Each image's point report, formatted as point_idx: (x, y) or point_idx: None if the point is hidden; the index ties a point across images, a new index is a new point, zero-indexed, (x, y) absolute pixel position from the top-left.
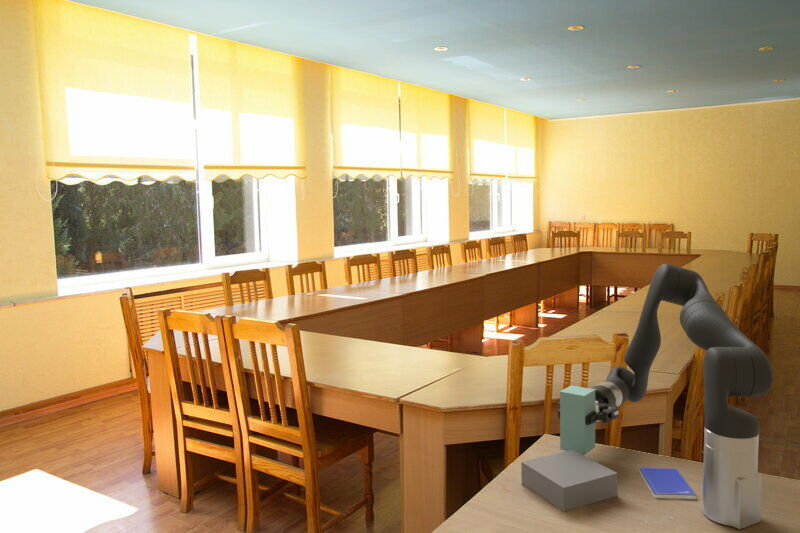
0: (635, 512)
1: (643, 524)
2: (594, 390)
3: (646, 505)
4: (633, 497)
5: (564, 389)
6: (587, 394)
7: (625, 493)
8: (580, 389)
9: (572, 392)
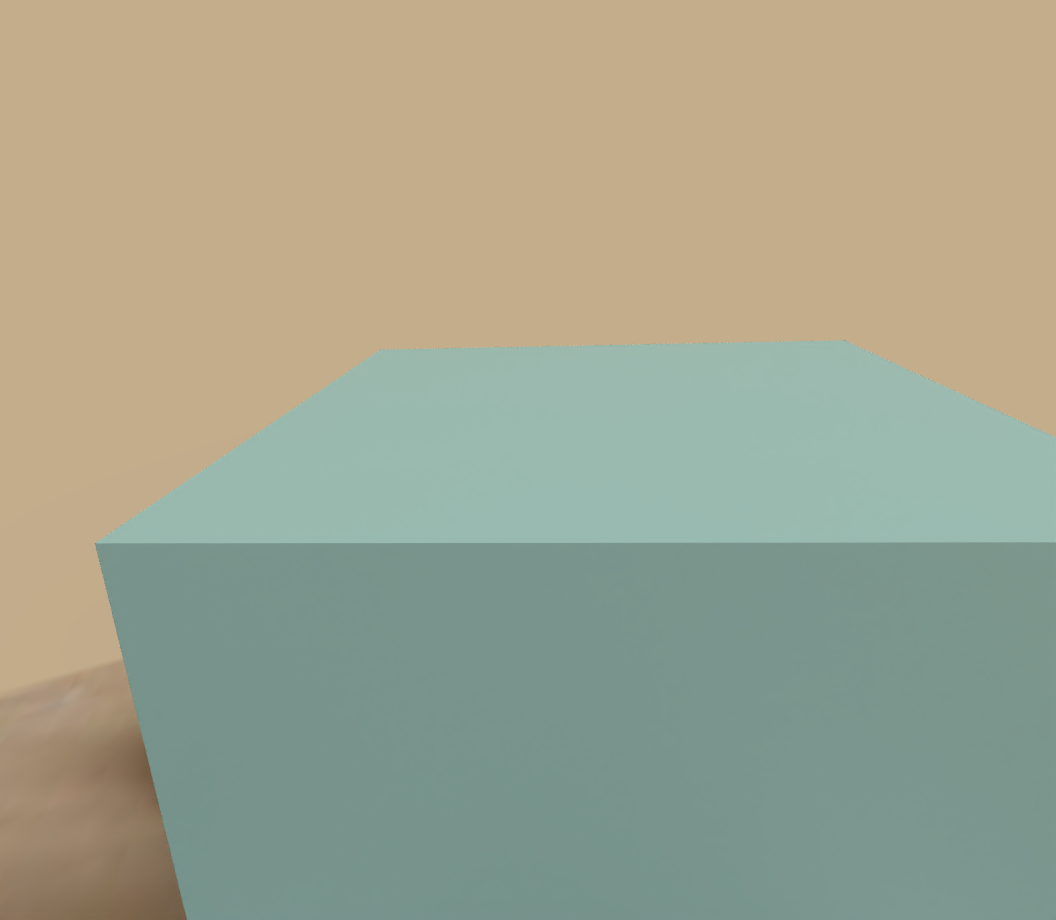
0: (102, 730)
1: (93, 675)
2: (144, 535)
3: (8, 809)
4: (63, 854)
5: (899, 371)
6: (343, 382)
7: (107, 876)
8: (607, 440)
9: (640, 358)
